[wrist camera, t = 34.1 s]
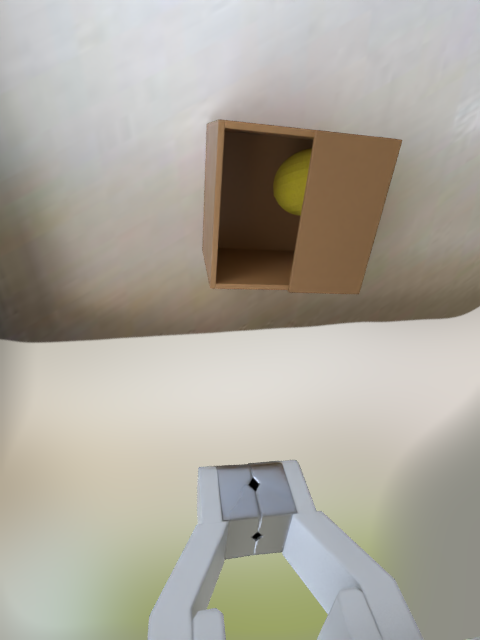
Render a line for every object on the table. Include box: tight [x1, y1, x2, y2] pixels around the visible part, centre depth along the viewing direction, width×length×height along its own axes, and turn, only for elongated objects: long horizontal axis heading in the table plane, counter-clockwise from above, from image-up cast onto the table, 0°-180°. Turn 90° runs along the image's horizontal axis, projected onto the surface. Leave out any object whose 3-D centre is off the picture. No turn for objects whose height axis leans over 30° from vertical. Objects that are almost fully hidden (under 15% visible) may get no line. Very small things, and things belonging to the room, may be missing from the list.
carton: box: [202, 120, 391, 290], centre depth 30 cm, size 12×13×10 cm
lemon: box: [273, 148, 312, 216], centre depth 30 cm, size 6×6×8 cm
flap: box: [288, 131, 402, 294], centre depth 26 cm, size 12×6×1 cm, turn 175°
